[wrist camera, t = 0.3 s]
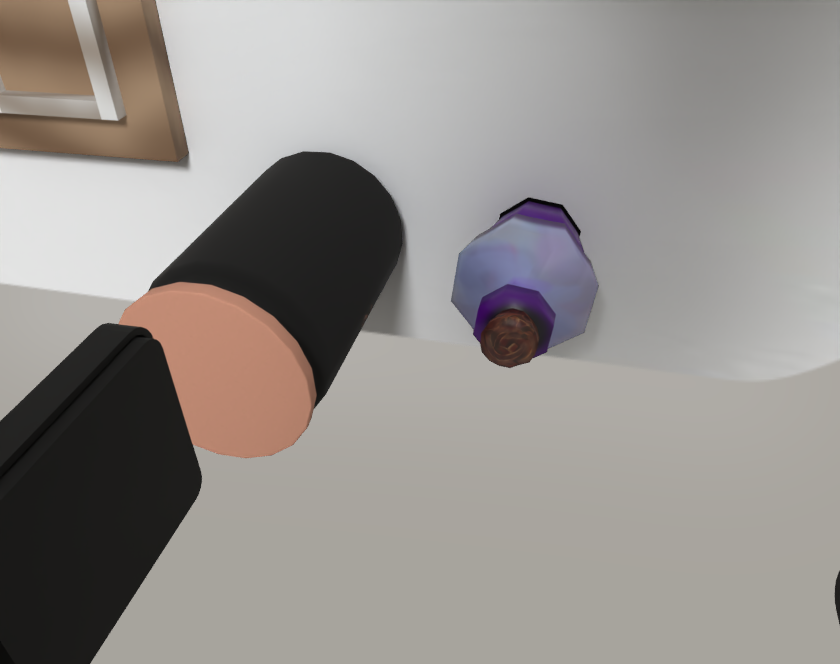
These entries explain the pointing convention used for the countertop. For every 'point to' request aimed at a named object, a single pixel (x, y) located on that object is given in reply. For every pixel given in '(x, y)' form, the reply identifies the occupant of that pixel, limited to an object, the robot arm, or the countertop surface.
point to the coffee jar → (272, 301)
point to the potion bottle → (525, 283)
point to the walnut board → (87, 80)
